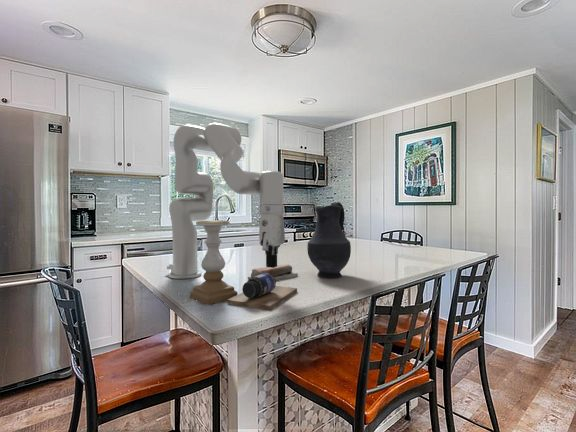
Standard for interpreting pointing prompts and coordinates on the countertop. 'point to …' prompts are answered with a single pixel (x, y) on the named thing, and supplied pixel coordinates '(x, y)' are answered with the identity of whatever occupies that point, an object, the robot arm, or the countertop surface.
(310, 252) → the pitcher
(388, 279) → the countertop surface
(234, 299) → the walnut board
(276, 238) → the robot arm
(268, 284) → the pill bottle
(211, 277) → the candle holder
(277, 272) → the butter dish
